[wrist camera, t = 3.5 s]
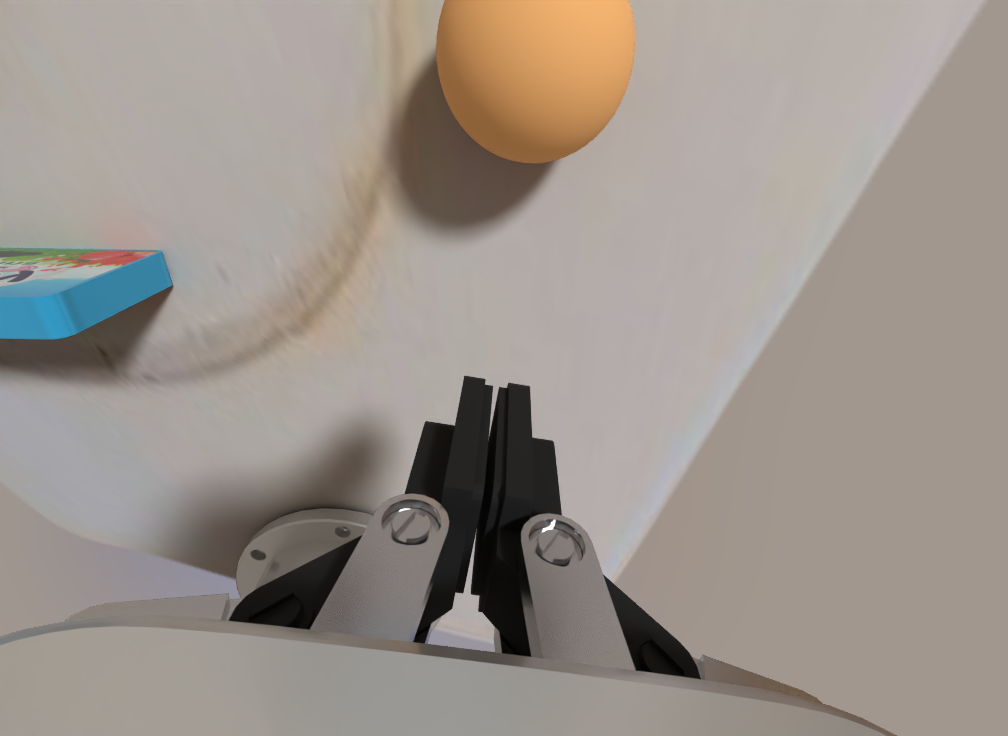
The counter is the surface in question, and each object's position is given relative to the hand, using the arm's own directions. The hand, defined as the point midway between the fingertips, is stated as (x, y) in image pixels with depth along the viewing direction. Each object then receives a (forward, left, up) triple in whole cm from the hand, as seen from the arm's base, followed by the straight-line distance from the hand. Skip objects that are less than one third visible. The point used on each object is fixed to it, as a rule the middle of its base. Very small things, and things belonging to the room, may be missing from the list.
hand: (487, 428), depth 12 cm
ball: (+9, 0, -7) cm, 12 cm away
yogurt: (-2, +20, -11) cm, 23 cm away
